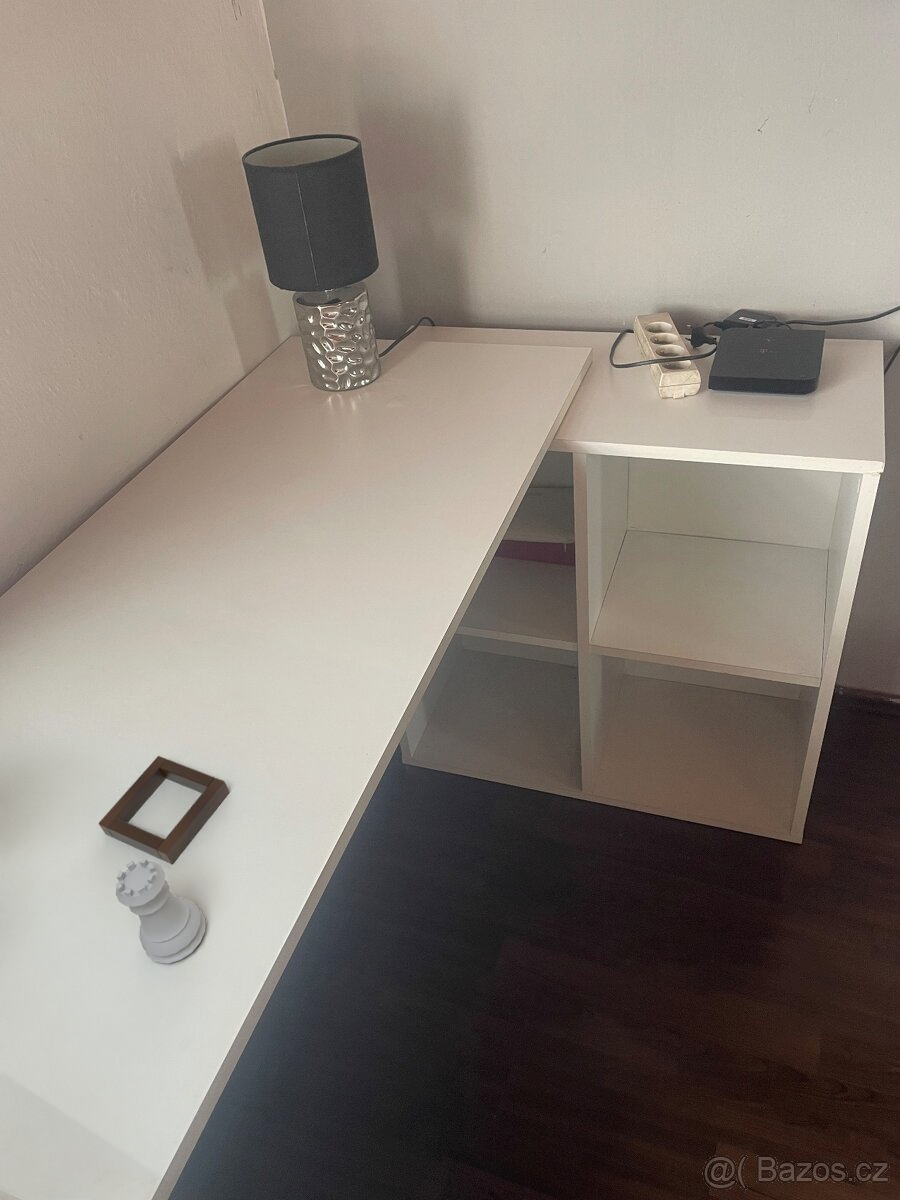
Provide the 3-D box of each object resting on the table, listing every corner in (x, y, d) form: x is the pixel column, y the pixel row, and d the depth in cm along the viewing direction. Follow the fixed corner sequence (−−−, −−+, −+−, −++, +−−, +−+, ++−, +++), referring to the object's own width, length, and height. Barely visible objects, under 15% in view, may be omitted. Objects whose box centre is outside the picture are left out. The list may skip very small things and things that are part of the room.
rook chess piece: (132, 955, 61) (86, 896, 56) (169, 899, 64) (129, 838, 59) (184, 975, 59) (141, 916, 54) (219, 916, 62) (182, 855, 57)
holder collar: (172, 864, 66) (165, 853, 65) (105, 834, 69) (97, 823, 68) (230, 791, 71) (224, 780, 70) (164, 766, 74) (158, 755, 73)
